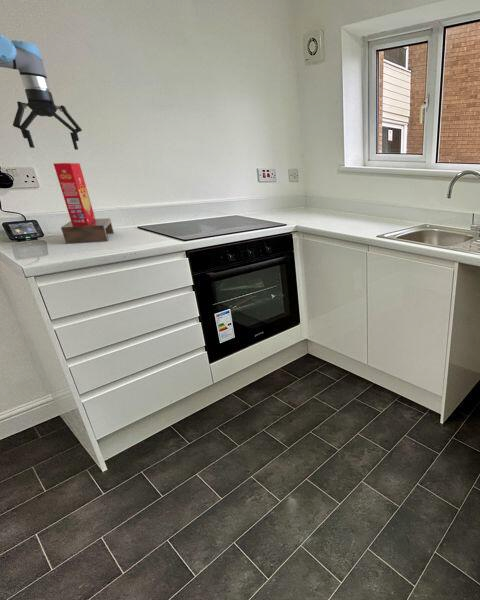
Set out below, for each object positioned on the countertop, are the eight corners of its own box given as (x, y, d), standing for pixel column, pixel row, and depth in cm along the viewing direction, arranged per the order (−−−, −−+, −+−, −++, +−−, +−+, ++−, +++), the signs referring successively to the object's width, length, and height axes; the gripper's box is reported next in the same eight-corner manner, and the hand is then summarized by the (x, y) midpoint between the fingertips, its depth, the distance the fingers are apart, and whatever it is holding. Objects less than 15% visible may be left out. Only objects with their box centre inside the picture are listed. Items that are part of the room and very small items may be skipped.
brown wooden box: (66, 243, 149) (60, 227, 146) (77, 234, 166) (72, 219, 164) (107, 241, 156) (103, 225, 153) (114, 232, 173) (110, 218, 171)
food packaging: (88, 224, 153) (70, 163, 144) (72, 225, 151) (53, 163, 142) (95, 219, 165) (79, 163, 156) (81, 220, 163) (64, 163, 154)
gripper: (81, 95, 146) (95, 150, 154) (-4, 86, 134) (15, 147, 141) (77, 92, 140) (92, 150, 148) (-12, 83, 128) (9, 146, 135)
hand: (55, 148), depth 144 cm, fingers open, 13 cm apart
